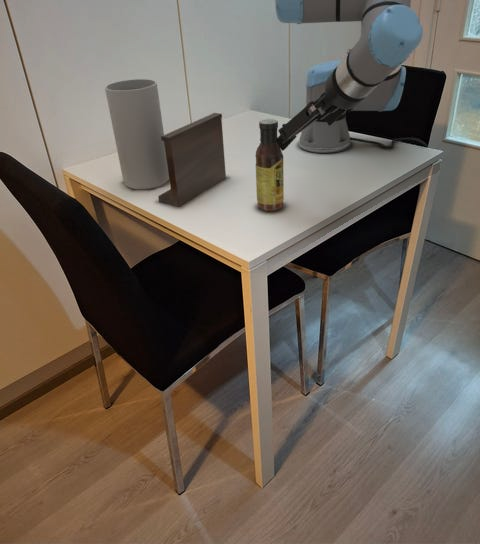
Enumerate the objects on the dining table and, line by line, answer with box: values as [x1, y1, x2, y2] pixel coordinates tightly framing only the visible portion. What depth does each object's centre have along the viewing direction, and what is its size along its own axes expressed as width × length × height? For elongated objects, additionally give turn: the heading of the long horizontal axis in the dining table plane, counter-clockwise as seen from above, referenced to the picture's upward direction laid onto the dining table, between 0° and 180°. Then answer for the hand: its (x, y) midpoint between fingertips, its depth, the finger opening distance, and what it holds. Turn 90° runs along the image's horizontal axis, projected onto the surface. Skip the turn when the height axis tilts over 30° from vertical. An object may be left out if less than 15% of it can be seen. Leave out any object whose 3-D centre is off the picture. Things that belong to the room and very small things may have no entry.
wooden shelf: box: [157, 112, 227, 208], centre depth 120 cm, size 6×21×17 cm, turn 147°
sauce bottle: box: [255, 118, 285, 212], centre depth 109 cm, size 7×6×20 cm
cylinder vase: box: [104, 78, 170, 190], centre depth 125 cm, size 12×12×25 cm
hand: (304, 132), depth 106 cm, fingers open, 13 cm apart
